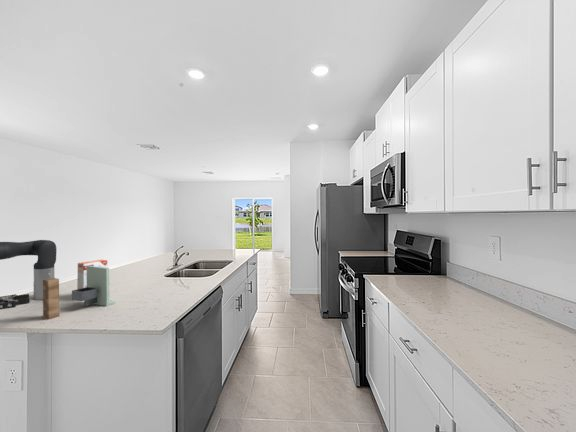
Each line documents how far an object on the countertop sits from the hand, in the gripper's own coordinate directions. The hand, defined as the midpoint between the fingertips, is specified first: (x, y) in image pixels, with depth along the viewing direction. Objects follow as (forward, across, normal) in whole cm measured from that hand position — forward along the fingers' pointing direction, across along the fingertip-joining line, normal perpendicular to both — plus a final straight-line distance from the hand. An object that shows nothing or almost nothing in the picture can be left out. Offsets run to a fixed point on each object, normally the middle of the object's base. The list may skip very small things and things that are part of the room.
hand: (29, 298), depth 133 cm
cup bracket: (+25, -7, -11) cm, 28 cm away
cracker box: (+28, -25, -11) cm, 39 cm away
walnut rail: (+8, 0, -11) cm, 13 cm away
